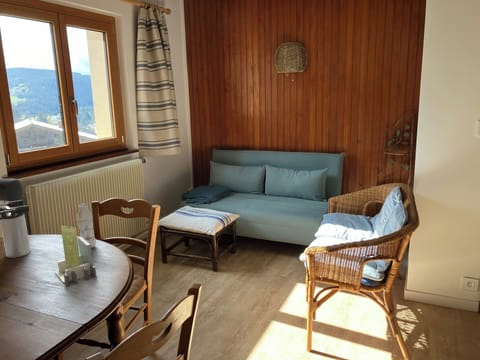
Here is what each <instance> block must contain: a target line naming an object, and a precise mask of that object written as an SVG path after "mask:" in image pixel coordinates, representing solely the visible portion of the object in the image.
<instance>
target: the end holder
mask: <svg viewBox="0 0 480 360" xmlns="http://www.w3.org/2000/svg"><path fill="white" fill-rule="evenodd" d="M77 240H78V250H79V259H80V265H79V266H75V267H72V268H69V269H66V262H65V258H63V259H62V260H57V268H58V270H56V271H54V274H55V275H56V276H57V277H58V279H59V280H60V281H61V282H62V284H63V285H64V284H65V281H64V274H65V273H67V274H68V276H69V281H71V280H72V275H71V272H72V271H74V272H75V273H76V277H77V280H78V279H82V278H85V277H84V270H83V268H85V267H86V268H87V269H88V271H89V275H90V274H91V267H90V266H92V265H93V266H94V264H93V262H94V261H93V255H92V248H91V246H90V244H89V243H88V242H87V241H86V240H84V239H83V238H82V237H81V236H77Z"/></svg>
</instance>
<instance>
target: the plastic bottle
mask: <svg viewBox="0 0 480 360" xmlns="http://www.w3.org/2000/svg"><path fill="white" fill-rule="evenodd" d="M78 210H79V211H78V212H77V214H76V221H77V224H78V228H79V235H80V236H81V237H82V238H83V239H84V240H86V241H87V242H88V243H89V244H90V246H91V249H93V248H95V247H96V244H97V240H96V238H95V233H94V229H93V227H94V225H93V213H92V212H91V211H90V210H89V205H88V203H80V204H78ZM80 236H79V237H80Z"/></svg>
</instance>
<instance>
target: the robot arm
mask: <svg viewBox="0 0 480 360" xmlns="http://www.w3.org/2000/svg"><path fill="white" fill-rule="evenodd" d="M24 197H25V196H24V188H23V185H22V182H21V181H20V180H19V179H18V178H1V177H0V228H1V229H0V230H1V235H2V239H3V247H4V250H5V251H4V252H5V256H6V258H9V259H10V258H11V259H13V258H15V259H16V258H19V257H20V258H21V257H24V256H26V255H28V254H30V252H31V247H30V239H29V233H28V229H27V221H26V217H25V213H29V211H30V209H29V206H28V205H26V204H25V199H24Z"/></svg>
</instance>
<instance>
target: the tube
mask: <svg viewBox="0 0 480 360" xmlns="http://www.w3.org/2000/svg"><path fill="white" fill-rule="evenodd" d="M77 230H78V229H77V227H74V226H67V225H63V224H61V225H60V231H61V239H62V246H63V253H64V254H63V255H64V259H65V262H66V269H69V268H72V267H75V266H79V265H80V259H79V255H80V252H79V244H78V233H77V232H78V231H77Z"/></svg>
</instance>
